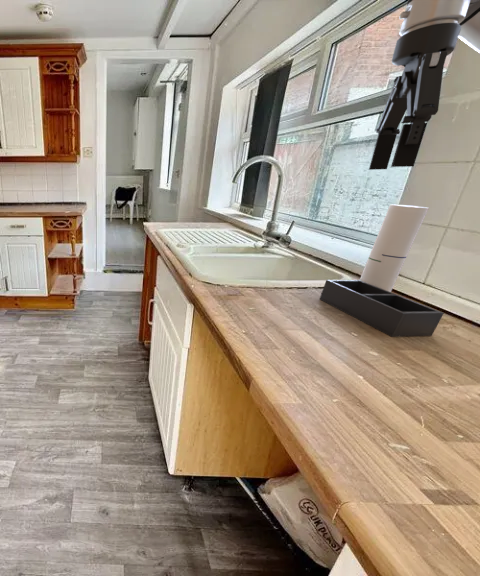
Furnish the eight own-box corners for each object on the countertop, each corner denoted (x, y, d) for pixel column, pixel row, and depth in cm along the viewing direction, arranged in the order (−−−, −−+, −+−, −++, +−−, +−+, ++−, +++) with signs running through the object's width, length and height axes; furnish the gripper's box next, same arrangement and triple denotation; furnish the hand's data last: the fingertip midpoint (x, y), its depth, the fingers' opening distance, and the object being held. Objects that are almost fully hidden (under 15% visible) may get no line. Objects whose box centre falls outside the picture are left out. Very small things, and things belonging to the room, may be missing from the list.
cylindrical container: (384, 304, 81) (427, 208, 72) (351, 295, 86) (388, 204, 77) (388, 298, 86) (429, 207, 76) (356, 290, 91) (392, 203, 81)
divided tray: (352, 299, 84) (359, 280, 82) (431, 336, 66) (444, 312, 64) (319, 299, 83) (326, 279, 80) (391, 336, 65) (402, 313, 63)
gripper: (376, 60, 63) (348, 170, 70) (431, -1, 42) (384, 165, 49) (426, 53, 59) (392, 170, 66) (512, -17, 39) (449, 164, 46)
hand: (388, 168), depth 58 cm, fingers open, 13 cm apart
